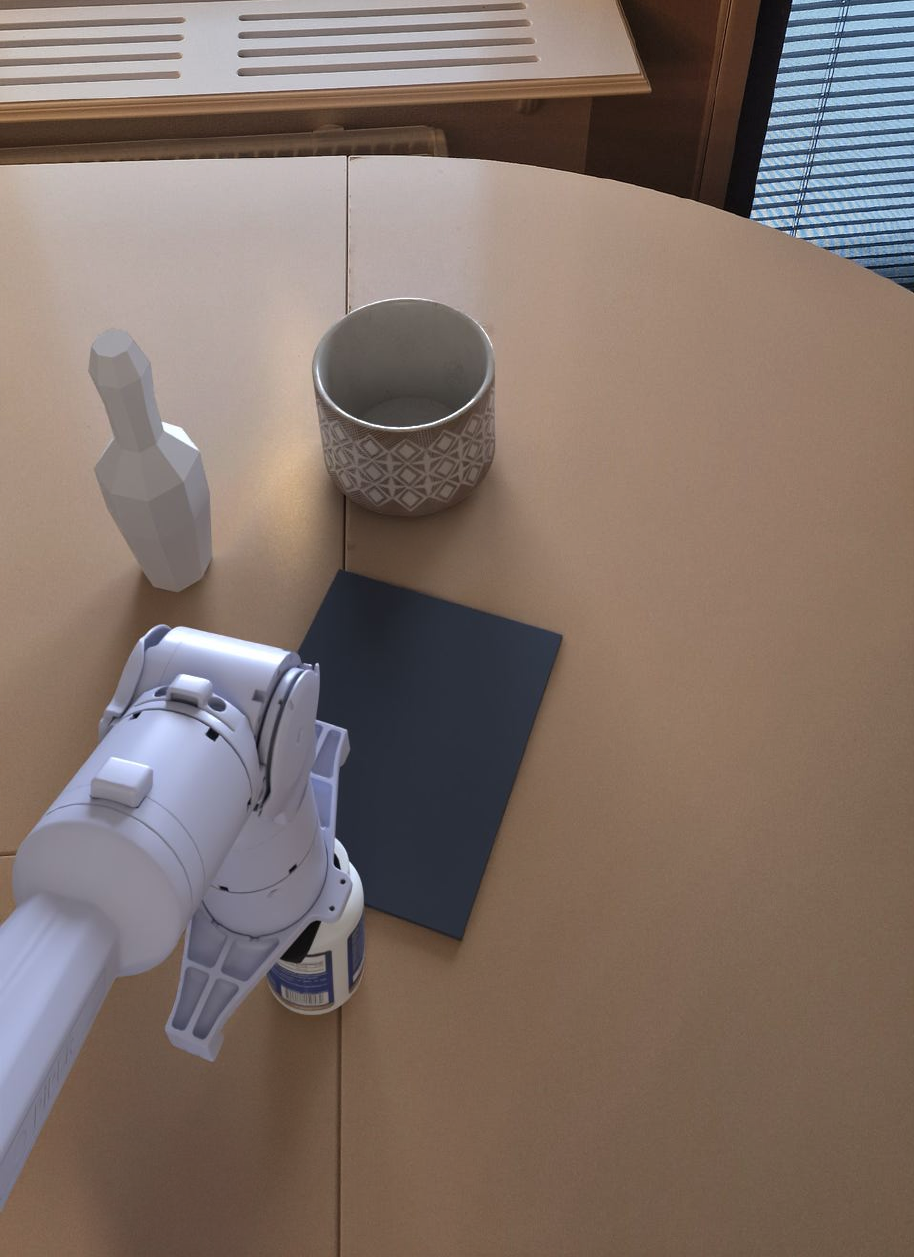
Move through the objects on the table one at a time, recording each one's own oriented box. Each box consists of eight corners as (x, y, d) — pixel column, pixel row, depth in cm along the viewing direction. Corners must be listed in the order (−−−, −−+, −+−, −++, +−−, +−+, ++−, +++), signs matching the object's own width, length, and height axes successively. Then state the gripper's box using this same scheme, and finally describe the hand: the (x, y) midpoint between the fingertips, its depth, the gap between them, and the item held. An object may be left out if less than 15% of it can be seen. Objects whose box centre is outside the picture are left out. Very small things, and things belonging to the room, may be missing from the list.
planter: (497, 524, 92) (497, 429, 84) (319, 527, 92) (304, 432, 85) (492, 391, 101) (492, 295, 94) (331, 394, 101) (318, 299, 94)
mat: (461, 942, 71) (461, 939, 71) (202, 846, 75) (202, 843, 75) (562, 638, 85) (562, 634, 85) (339, 571, 89) (338, 568, 89)
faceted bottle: (241, 551, 90) (190, 331, 75) (179, 618, 87) (112, 399, 72) (175, 511, 93) (112, 290, 78) (111, 573, 89) (33, 354, 74)
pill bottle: (327, 900, 73) (323, 797, 68) (384, 975, 70) (384, 873, 64) (246, 959, 70) (234, 858, 65) (301, 1040, 67) (294, 940, 61)
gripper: (260, 1040, 48) (298, 1139, 58) (401, 702, 58) (414, 833, 68) (96, 973, 50) (159, 1080, 59) (260, 656, 60) (292, 790, 69)
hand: (286, 945), depth 64 cm, fingers closed, pressing on pill bottle
